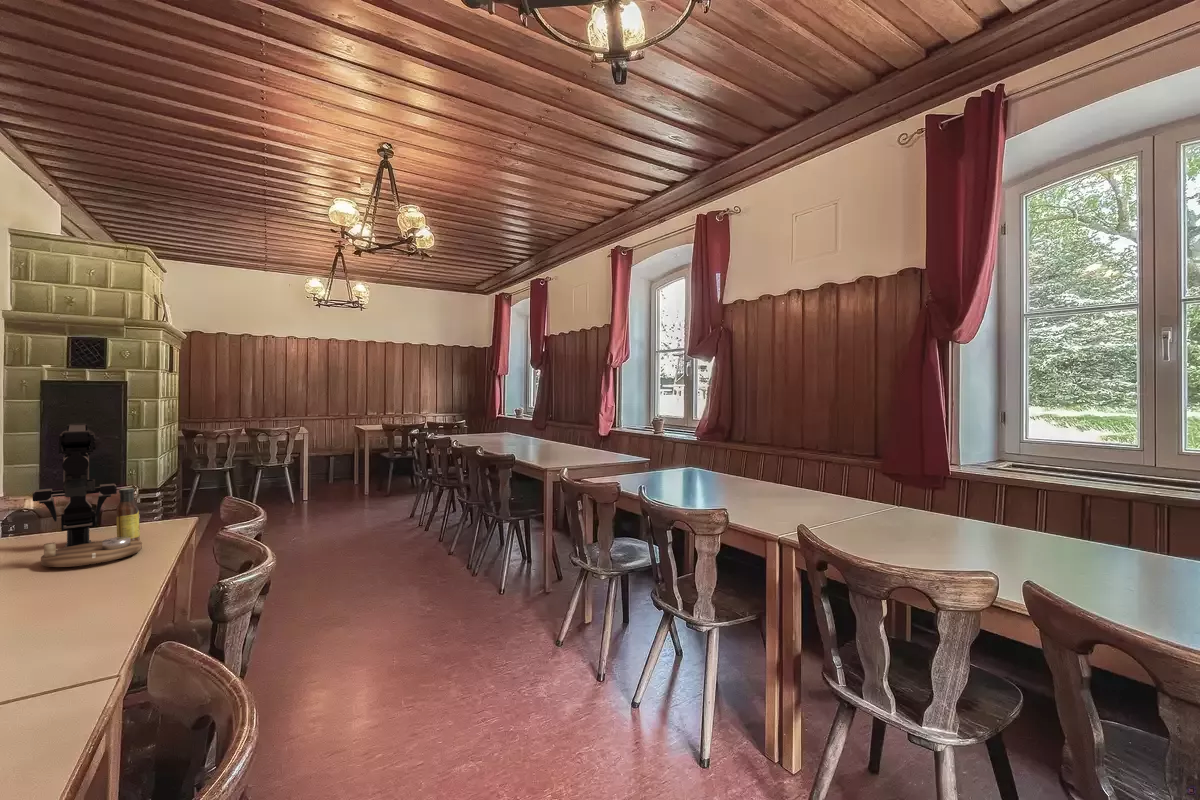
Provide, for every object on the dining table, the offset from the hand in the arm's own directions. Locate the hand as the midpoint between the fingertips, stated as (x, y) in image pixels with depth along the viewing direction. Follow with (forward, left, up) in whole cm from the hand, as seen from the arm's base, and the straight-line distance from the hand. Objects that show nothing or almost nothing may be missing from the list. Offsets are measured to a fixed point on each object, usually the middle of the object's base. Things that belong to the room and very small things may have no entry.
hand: (76, 519), depth 166 cm
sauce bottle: (-21, +13, -15) cm, 29 cm away
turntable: (-4, +4, -13) cm, 15 cm away
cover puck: (-4, +9, -12) cm, 16 cm away
